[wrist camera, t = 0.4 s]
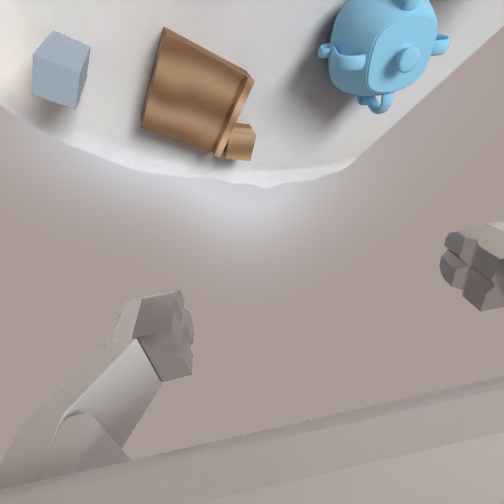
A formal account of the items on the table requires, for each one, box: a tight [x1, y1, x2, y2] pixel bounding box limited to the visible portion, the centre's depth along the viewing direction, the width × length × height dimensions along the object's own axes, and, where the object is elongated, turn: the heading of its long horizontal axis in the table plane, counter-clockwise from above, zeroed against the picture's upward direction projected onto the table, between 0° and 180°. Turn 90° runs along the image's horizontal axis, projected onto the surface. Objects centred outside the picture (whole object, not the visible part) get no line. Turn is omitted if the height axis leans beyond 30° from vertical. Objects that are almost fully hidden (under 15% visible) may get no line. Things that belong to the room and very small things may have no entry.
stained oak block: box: [223, 123, 256, 161], centre depth 56 cm, size 5×5×5 cm
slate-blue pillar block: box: [32, 30, 90, 109], centre depth 39 cm, size 4×4×12 cm
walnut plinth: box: [141, 27, 254, 158], centre depth 49 cm, size 14×14×6 cm
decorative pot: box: [318, 0, 450, 114], centre depth 46 cm, size 16×16×14 cm
